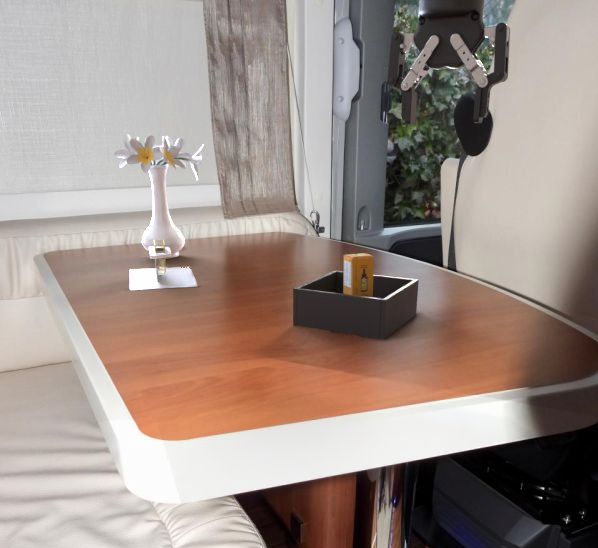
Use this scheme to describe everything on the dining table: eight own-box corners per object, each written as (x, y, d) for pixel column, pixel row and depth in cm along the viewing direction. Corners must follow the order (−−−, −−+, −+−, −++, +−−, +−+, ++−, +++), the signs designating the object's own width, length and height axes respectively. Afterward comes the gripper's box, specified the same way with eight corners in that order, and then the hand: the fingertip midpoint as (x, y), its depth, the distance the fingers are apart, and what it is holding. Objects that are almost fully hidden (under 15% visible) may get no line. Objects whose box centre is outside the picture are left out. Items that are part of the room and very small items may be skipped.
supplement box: (362, 321, 92) (365, 251, 88) (372, 328, 89) (376, 256, 85) (341, 323, 91) (343, 252, 87) (350, 330, 88) (352, 257, 84)
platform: (189, 266, 131) (187, 234, 128) (198, 286, 115) (195, 249, 112) (129, 269, 128) (126, 236, 126) (129, 290, 112) (125, 252, 110)
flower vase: (215, 258, 139) (209, 134, 129) (128, 264, 133) (115, 134, 123) (201, 248, 150) (195, 133, 140) (121, 253, 144) (108, 133, 134)
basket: (415, 324, 93) (418, 279, 90) (383, 350, 82) (385, 300, 80) (333, 313, 99) (334, 270, 96) (293, 335, 88) (292, 288, 85)
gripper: (522, -30, 74) (506, 123, 80) (404, -17, 80) (397, 125, 86) (511, -45, 68) (495, 122, 74) (384, -29, 74) (378, 124, 80)
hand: (442, 123), depth 80 cm, fingers open, 8 cm apart
